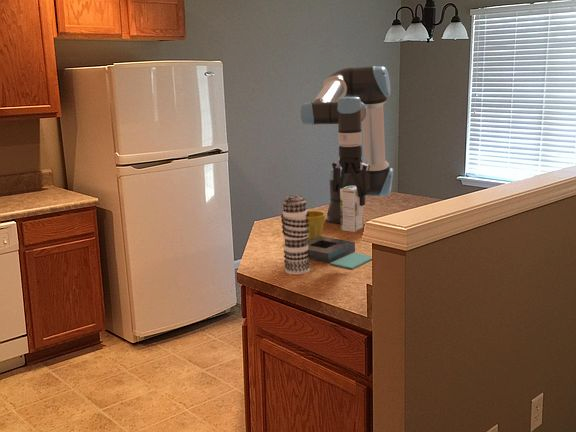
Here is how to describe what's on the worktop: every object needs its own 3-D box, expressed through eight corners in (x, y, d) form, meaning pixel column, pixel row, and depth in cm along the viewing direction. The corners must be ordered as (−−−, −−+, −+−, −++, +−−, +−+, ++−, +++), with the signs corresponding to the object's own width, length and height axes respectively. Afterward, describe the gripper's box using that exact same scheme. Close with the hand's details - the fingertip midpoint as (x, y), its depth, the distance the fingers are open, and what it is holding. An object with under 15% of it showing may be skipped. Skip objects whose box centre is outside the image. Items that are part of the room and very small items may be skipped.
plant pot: (321, 242, 241) (320, 217, 239) (295, 241, 244) (294, 216, 242) (329, 235, 250) (328, 211, 248) (304, 233, 254) (303, 210, 252)
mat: (353, 254, 225) (353, 252, 224) (375, 258, 219) (375, 256, 219) (330, 264, 214) (330, 263, 214) (352, 269, 209) (352, 267, 208)
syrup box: (349, 226, 218) (347, 184, 214) (364, 228, 214) (363, 186, 211) (340, 230, 213) (339, 188, 210) (355, 232, 210) (354, 189, 206)
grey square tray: (319, 244, 238) (319, 235, 237) (355, 251, 228) (354, 242, 227) (292, 255, 226) (292, 246, 225) (328, 263, 216) (328, 253, 215)
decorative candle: (293, 264, 217) (290, 192, 211) (316, 268, 212) (313, 194, 206) (278, 272, 210) (274, 198, 204) (301, 276, 204) (298, 200, 198)
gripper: (320, 145, 210) (322, 212, 216) (368, 148, 198) (369, 219, 204) (333, 142, 216) (335, 208, 221) (381, 144, 204) (382, 214, 209)
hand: (351, 213), depth 212 cm, fingers closed on syrup box, 6 cm apart
